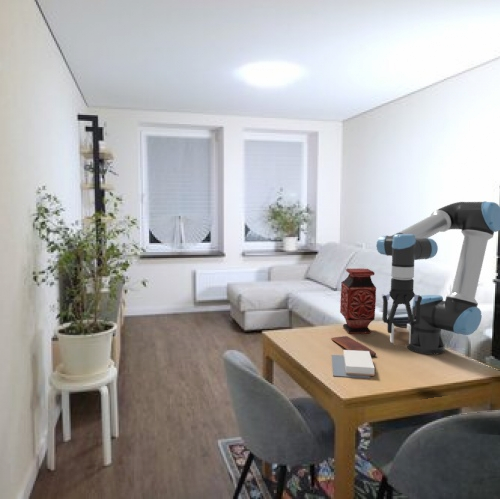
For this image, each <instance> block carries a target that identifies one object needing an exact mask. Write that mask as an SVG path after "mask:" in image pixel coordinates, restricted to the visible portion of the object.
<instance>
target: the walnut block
mask: <svg viewBox="0 0 500 499" xmlns="http://www.w3.org/2000/svg"><path fill="white" fill-rule="evenodd" d="M392 344H393V345H394V346H405V347H407V346H409V331H408V330H407V327H394V343H392Z"/></svg>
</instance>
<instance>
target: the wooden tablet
mask: <svg viewBox="0 0 500 499" xmlns="http://www.w3.org/2000/svg"><path fill="white" fill-rule="evenodd" d="M331 340H332V341H334V342H335V343H337V344H338V345H340V346H342V347H343V348H344V350H356V351H369V352H370V356H371V357H372V356H376V354H377V352H375V351H374V350H373V349H371V348H369V347H367V346H366V345H364V344H362V343H360V342H359V341H357V340H355V339H353V338H351V337H350V336H346V335H345V336H344V335H342V336H335V337H331Z"/></svg>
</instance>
